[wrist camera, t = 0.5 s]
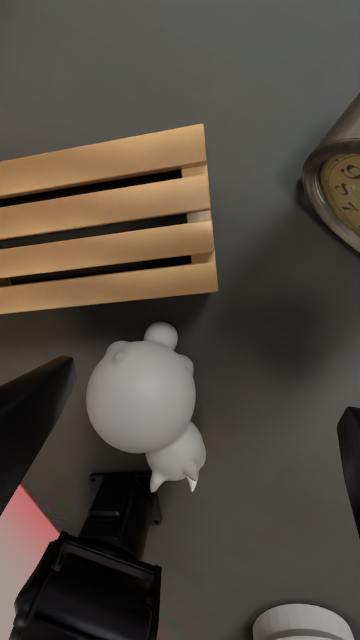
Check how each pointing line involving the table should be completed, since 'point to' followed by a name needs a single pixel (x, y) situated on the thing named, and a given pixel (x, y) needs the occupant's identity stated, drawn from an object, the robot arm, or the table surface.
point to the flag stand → (300, 624)
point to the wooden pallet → (109, 222)
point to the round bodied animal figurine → (149, 404)
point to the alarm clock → (337, 177)
